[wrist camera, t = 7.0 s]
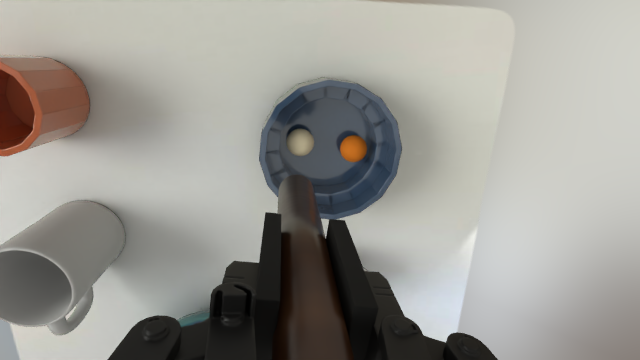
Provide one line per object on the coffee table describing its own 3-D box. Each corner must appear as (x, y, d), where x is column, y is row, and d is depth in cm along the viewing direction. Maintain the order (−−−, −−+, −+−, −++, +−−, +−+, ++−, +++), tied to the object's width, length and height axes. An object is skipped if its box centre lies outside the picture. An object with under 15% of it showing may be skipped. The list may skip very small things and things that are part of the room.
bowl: (269, 69, 38) (267, 70, 33) (395, 87, 40) (414, 92, 35) (257, 192, 42) (254, 212, 37) (372, 203, 44) (385, 224, 39)
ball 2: (340, 131, 41) (344, 136, 38) (365, 134, 41) (372, 139, 38) (336, 156, 41) (340, 163, 39) (361, 159, 42) (367, 166, 39)
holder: (-3, 50, 35) (-80, 47, 28) (88, 63, 36) (37, 63, 29) (7, 132, 38) (-62, 149, 30) (92, 141, 39) (46, 160, 31)
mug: (39, 202, 40) (-46, 251, 30) (117, 196, 41) (61, 242, 31) (68, 292, 44) (2, 362, 34) (139, 285, 45) (96, 352, 34)
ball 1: (287, 124, 40) (288, 129, 37) (314, 128, 40) (316, 133, 37) (284, 150, 41) (285, 157, 38) (310, 153, 41) (313, 160, 38)
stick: (280, 168, 25) (274, 414, 7) (314, 172, 25) (385, 416, 8) (277, 200, 25) (261, 493, 8) (310, 203, 26) (364, 493, 8)
